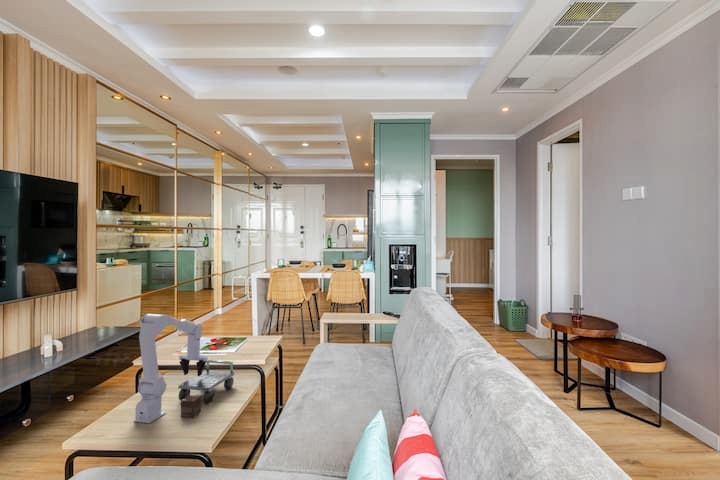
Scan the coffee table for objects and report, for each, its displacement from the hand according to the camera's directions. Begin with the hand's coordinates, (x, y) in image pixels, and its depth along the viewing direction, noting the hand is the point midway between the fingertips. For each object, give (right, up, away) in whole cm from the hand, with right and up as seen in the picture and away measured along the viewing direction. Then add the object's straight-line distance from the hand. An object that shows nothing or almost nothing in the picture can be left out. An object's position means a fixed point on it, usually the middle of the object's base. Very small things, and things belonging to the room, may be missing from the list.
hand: (192, 374), depth 172 cm
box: (+10, -9, -22) cm, 26 cm away
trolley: (+7, -10, 0) cm, 12 cm away
